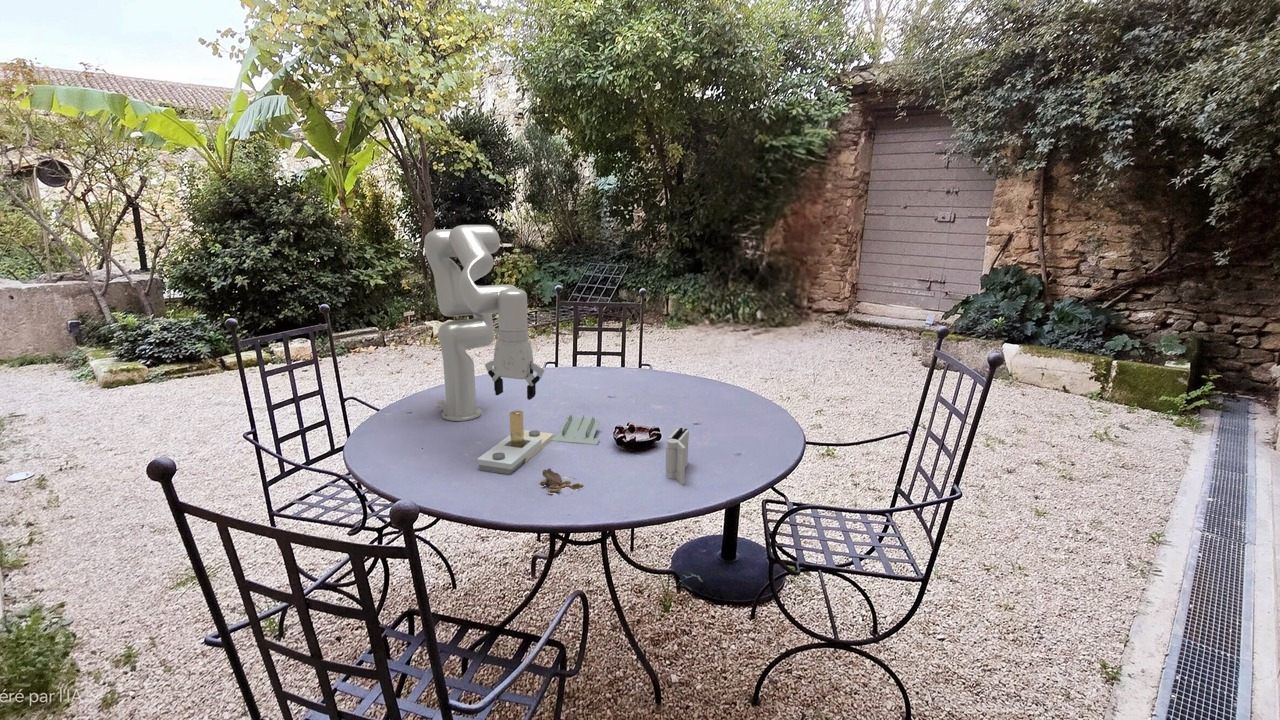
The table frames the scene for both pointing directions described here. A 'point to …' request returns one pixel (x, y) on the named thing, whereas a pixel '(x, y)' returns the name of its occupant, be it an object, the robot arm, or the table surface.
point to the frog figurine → (558, 482)
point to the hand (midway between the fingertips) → (515, 396)
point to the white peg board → (513, 452)
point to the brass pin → (517, 429)
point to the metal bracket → (578, 431)
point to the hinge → (677, 454)
